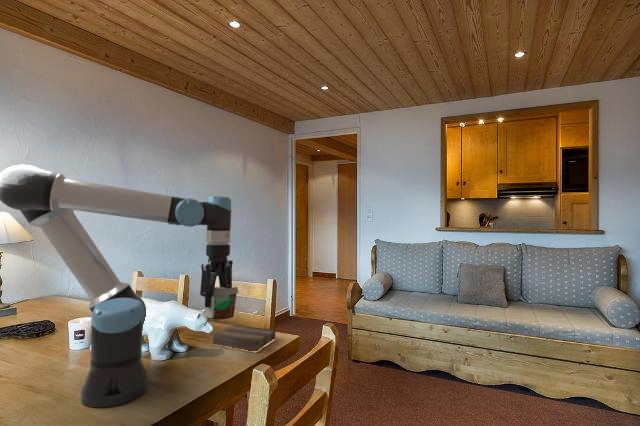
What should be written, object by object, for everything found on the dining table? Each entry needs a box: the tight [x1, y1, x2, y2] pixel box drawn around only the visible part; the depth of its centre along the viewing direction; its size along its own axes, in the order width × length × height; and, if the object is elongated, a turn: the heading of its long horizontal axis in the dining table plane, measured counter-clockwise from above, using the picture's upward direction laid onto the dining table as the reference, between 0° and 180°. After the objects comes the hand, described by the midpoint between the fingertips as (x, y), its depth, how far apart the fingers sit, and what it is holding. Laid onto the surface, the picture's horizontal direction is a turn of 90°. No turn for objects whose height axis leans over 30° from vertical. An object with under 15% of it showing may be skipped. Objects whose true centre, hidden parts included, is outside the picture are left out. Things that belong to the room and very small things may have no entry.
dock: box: [212, 324, 277, 351], centre depth 133 cm, size 14×18×4 cm
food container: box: [206, 286, 239, 320], centre depth 116 cm, size 12×6×10 cm, turn 73°
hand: (216, 314), depth 116 cm, fingers closed on food container, 6 cm apart
